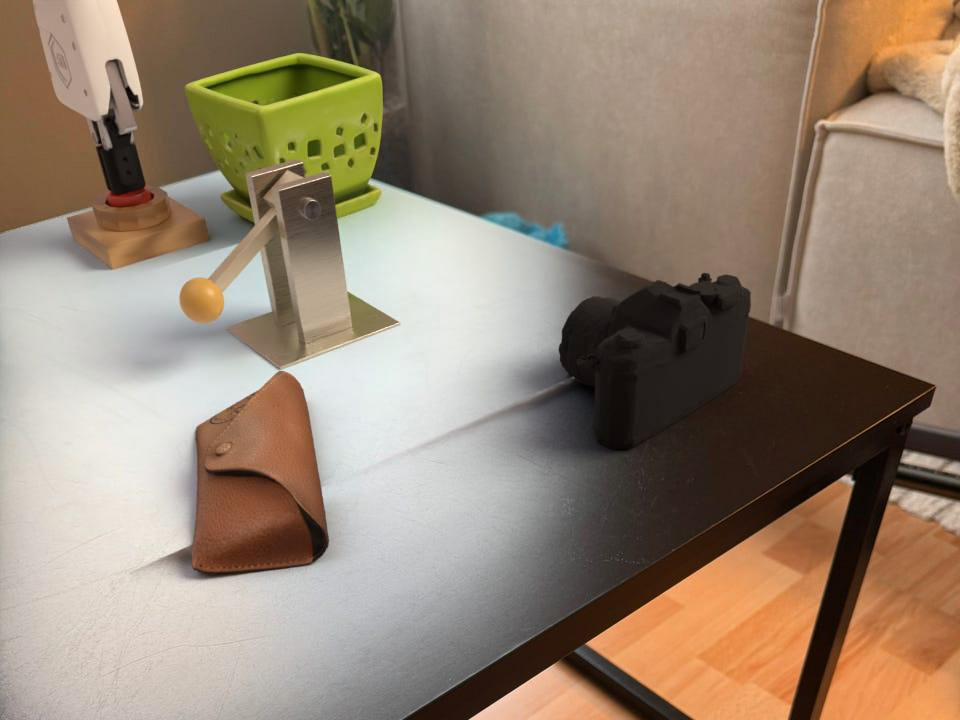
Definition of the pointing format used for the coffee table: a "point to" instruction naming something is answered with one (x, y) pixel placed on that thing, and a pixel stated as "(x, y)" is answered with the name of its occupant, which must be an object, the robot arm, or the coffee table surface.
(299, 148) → the flower pot
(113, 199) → the button
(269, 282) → the switch bracket
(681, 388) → the film camera
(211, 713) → the coffee table surface
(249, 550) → the sunglasses case
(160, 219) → the button block
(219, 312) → the switch lever
